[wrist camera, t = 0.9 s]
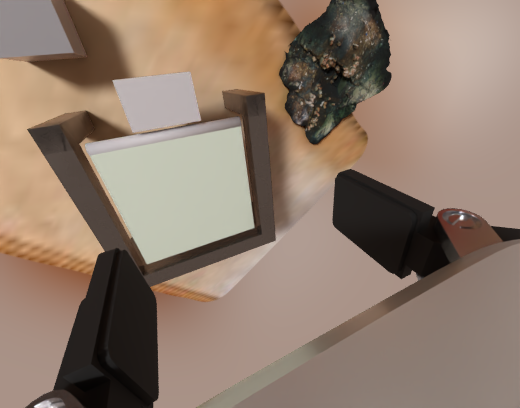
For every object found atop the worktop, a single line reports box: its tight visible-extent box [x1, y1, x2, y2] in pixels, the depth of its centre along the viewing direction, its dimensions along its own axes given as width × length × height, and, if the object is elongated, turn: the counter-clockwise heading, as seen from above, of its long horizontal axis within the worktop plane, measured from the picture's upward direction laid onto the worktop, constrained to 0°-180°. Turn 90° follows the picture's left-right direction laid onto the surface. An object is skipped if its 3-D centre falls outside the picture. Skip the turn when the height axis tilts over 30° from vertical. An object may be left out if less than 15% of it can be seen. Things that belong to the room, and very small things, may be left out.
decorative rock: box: [279, 0, 391, 144], centre depth 32 cm, size 19×6×15 cm
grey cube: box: [0, 0, 87, 62], centre depth 18 cm, size 5×5×5 cm
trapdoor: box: [85, 72, 254, 264], centre depth 24 cm, size 19×14×2 cm
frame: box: [27, 89, 276, 287], centre depth 28 cm, size 20×20×9 cm
